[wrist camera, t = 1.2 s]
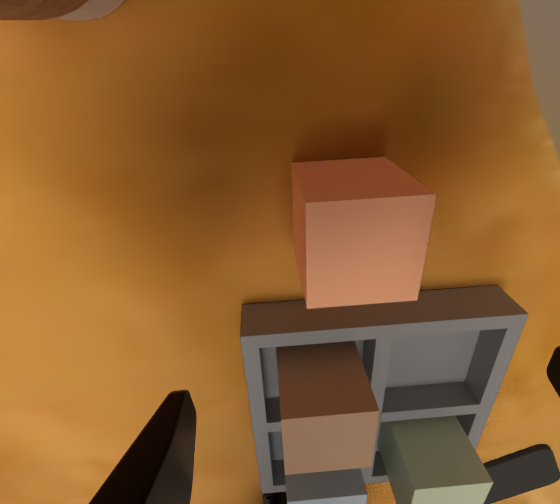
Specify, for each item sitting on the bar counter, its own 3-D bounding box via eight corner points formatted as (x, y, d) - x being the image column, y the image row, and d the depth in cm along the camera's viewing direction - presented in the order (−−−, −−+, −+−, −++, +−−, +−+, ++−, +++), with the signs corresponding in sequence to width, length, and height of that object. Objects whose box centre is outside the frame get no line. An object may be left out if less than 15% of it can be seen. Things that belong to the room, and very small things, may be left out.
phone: (400, 497, 35) (550, 445, 32) (397, 488, 36) (544, 437, 32) (424, 525, 38) (562, 480, 35) (421, 516, 39) (556, 472, 36)
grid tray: (448, 439, 31) (495, 532, 25) (261, 456, 30) (262, 555, 24) (497, 285, 23) (586, 366, 17) (242, 304, 22) (236, 396, 16)
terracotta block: (376, 240, 21) (417, 300, 15) (293, 245, 20) (306, 309, 15) (384, 156, 18) (436, 194, 13) (290, 162, 18) (305, 203, 13)
